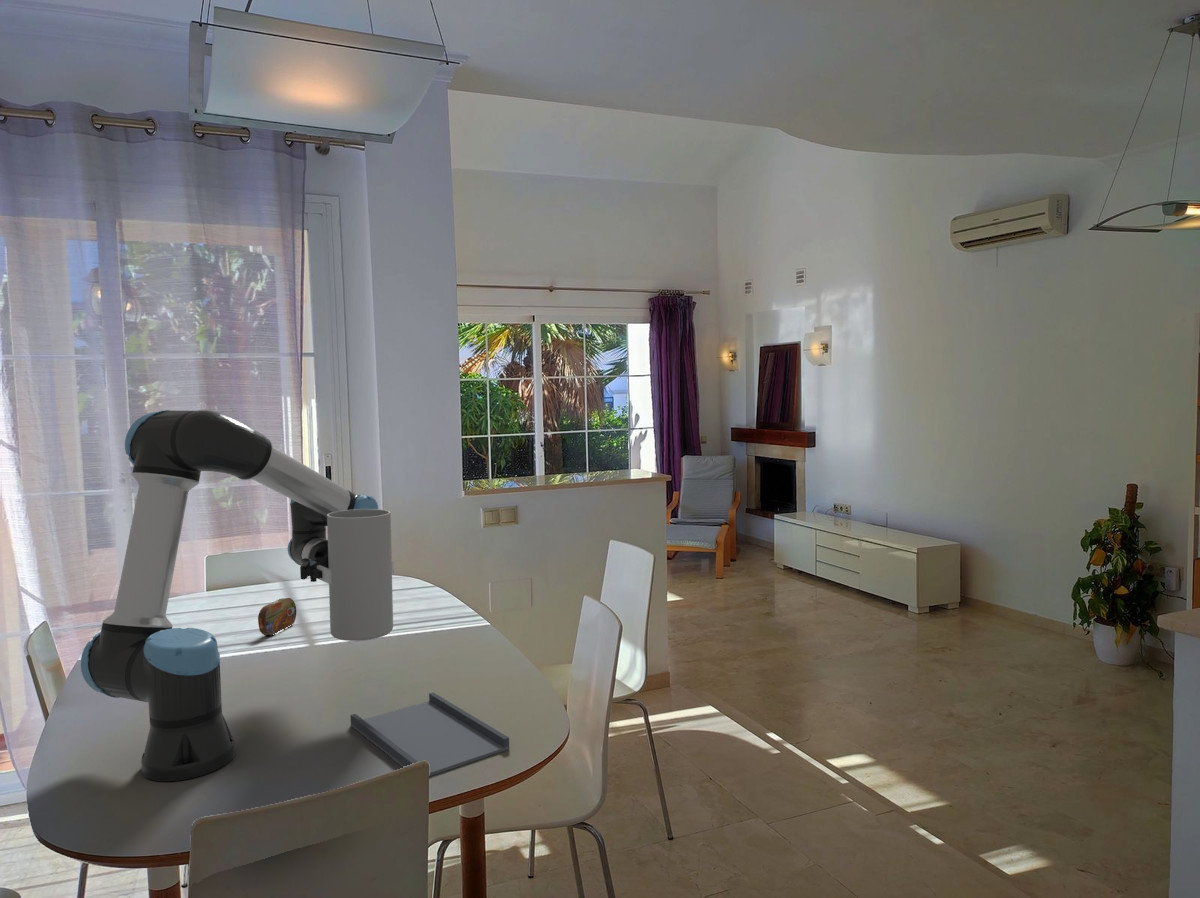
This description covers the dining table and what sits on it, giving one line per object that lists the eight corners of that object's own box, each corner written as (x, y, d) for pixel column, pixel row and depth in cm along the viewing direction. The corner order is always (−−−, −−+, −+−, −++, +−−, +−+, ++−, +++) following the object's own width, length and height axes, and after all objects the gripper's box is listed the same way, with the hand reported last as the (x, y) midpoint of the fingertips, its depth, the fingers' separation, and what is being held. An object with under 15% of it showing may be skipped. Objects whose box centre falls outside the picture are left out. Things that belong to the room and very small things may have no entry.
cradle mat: (509, 749, 152) (508, 737, 152) (418, 780, 141) (417, 767, 141) (433, 702, 175) (433, 692, 175) (350, 725, 164) (350, 714, 164)
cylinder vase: (352, 622, 180) (349, 508, 178) (404, 626, 177) (401, 510, 175) (318, 639, 168) (314, 516, 166) (373, 644, 165) (370, 519, 163)
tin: (267, 639, 224) (265, 608, 223) (256, 639, 224) (254, 608, 224) (298, 623, 238) (296, 594, 238) (288, 623, 239) (286, 594, 238)
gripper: (377, 565, 196) (417, 580, 179) (269, 582, 181) (302, 600, 164) (375, 533, 195) (416, 545, 178) (267, 547, 180) (300, 562, 163)
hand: (361, 571), depth 171 cm, fingers closed on cylinder vase, 12 cm apart
